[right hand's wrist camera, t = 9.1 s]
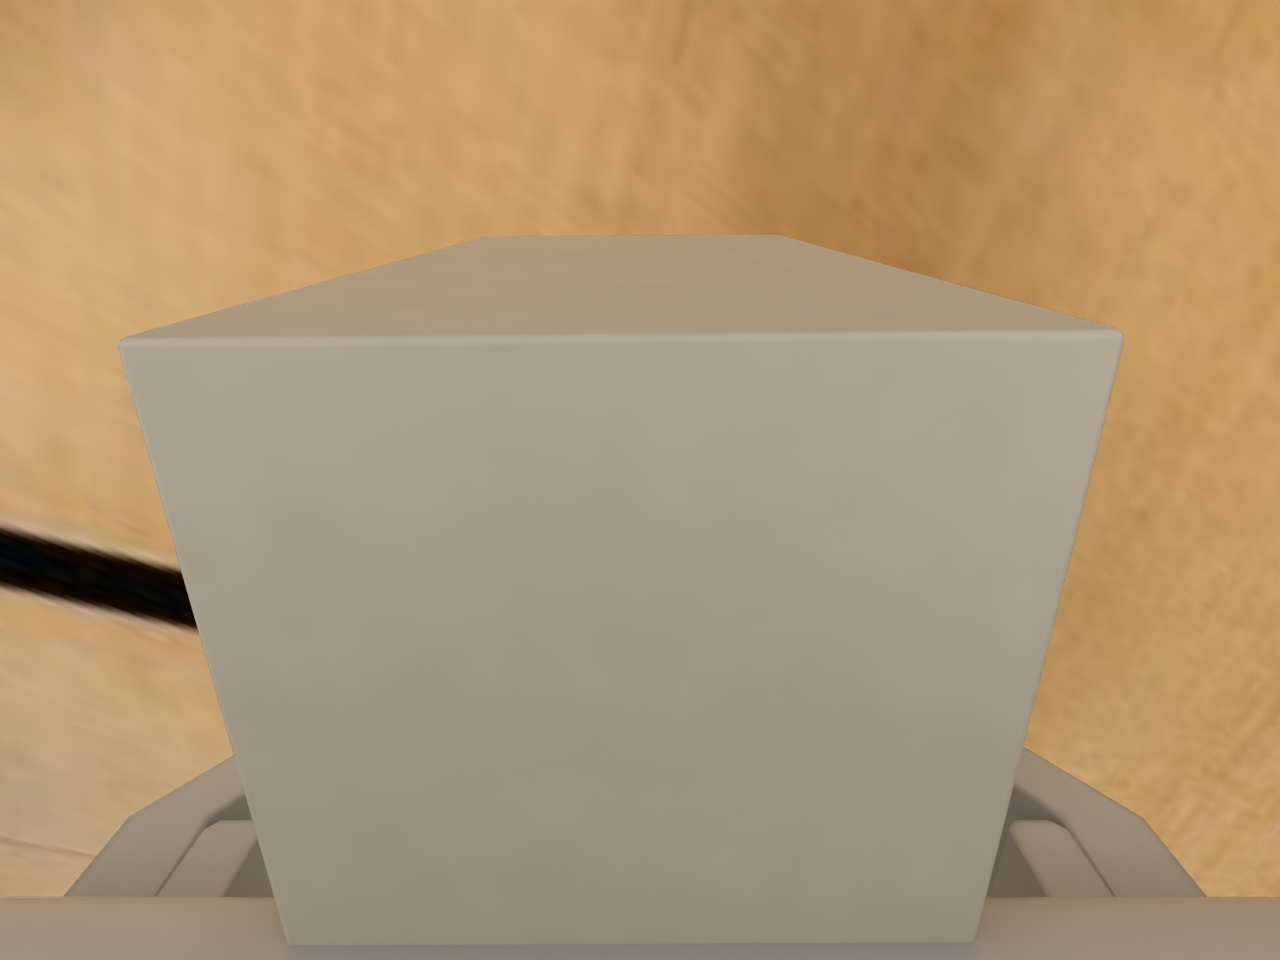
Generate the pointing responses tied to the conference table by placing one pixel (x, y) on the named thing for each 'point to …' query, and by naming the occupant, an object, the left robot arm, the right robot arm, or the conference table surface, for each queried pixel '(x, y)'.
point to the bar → (626, 583)
